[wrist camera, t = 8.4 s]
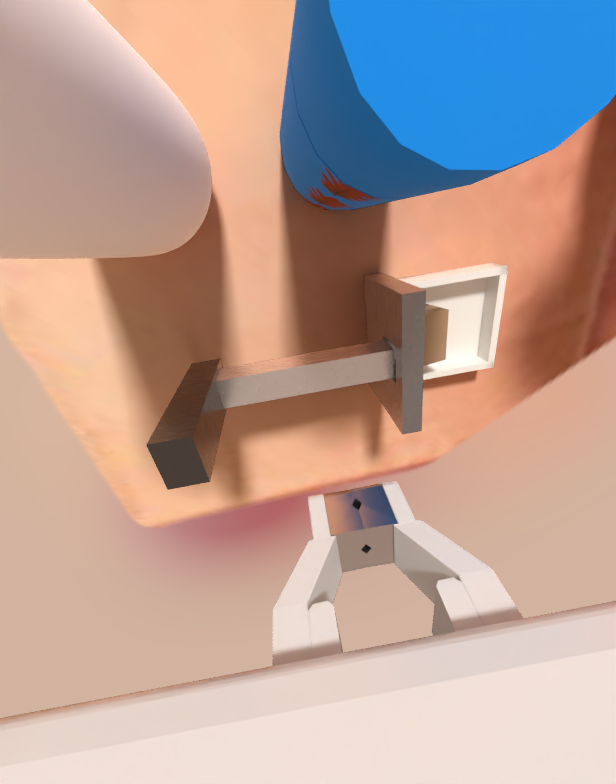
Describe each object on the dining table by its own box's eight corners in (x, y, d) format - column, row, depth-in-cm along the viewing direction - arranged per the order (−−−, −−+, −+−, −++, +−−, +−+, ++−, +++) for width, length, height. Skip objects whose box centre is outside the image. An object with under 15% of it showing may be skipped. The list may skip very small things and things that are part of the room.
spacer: (425, 303, 37) (448, 309, 34) (423, 349, 40) (445, 359, 36) (387, 312, 36) (408, 320, 33) (388, 359, 39) (407, 370, 35)
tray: (490, 263, 37) (508, 265, 34) (479, 358, 42) (493, 367, 40) (381, 281, 36) (390, 286, 34) (384, 375, 42) (392, 385, 39)
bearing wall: (381, 272, 36) (426, 290, 26) (384, 382, 42) (421, 430, 32) (363, 275, 36) (402, 294, 26) (370, 384, 42) (402, 434, 32)
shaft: (379, 330, 34) (443, 390, 21) (380, 365, 36) (440, 438, 23) (191, 363, 33) (146, 444, 21) (203, 396, 35) (167, 489, 23)
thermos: (316, 36, 26) (563, -927, 4) (413, 121, 30) (827, -179, 8) (259, 171, 30) (236, 19, 8) (350, 233, 34) (509, 244, 12)
